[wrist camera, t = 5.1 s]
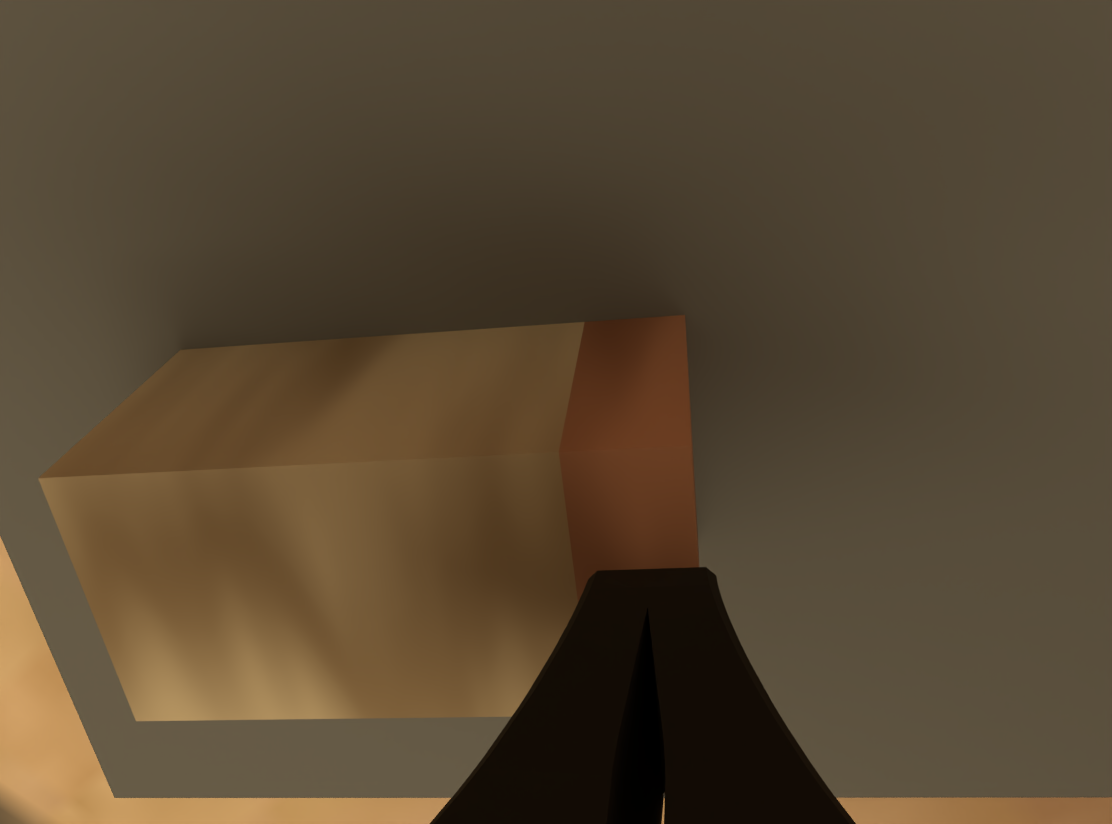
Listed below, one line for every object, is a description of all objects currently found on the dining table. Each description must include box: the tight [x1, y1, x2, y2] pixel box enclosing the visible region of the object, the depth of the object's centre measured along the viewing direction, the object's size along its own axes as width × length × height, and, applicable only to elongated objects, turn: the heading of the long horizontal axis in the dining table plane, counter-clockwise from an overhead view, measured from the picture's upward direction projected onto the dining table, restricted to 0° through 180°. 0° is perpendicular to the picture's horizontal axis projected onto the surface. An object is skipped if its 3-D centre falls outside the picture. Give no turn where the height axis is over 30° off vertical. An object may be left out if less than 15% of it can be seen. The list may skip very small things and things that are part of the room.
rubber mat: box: [0, 0, 1112, 798], centre depth 16 cm, size 16×20×1 cm
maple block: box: [38, 315, 699, 721], centre depth 14 cm, size 4×4×8 cm
